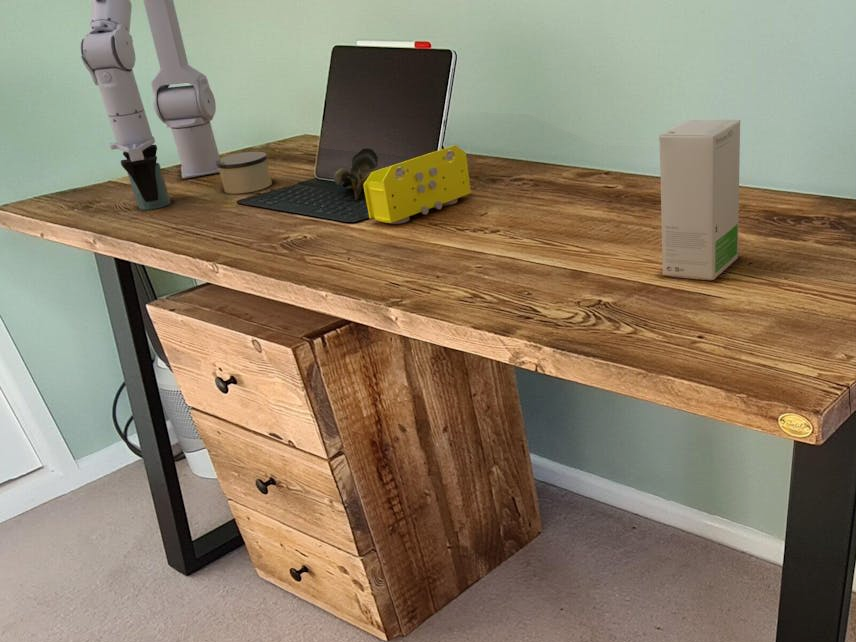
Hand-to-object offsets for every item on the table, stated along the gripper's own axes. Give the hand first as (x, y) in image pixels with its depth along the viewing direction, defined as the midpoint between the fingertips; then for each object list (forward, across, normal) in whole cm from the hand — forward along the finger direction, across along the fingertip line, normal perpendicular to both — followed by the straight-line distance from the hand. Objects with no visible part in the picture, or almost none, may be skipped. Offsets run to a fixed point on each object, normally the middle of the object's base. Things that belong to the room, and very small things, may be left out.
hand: (152, 195), depth 154 cm
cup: (+2, 0, 0) cm, 2 cm away
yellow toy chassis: (+2, +35, +39) cm, 52 cm away
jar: (+2, -1, +16) cm, 16 cm away
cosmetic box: (+2, +79, +61) cm, 100 cm away
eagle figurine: (+2, +18, +33) cm, 38 cm away
